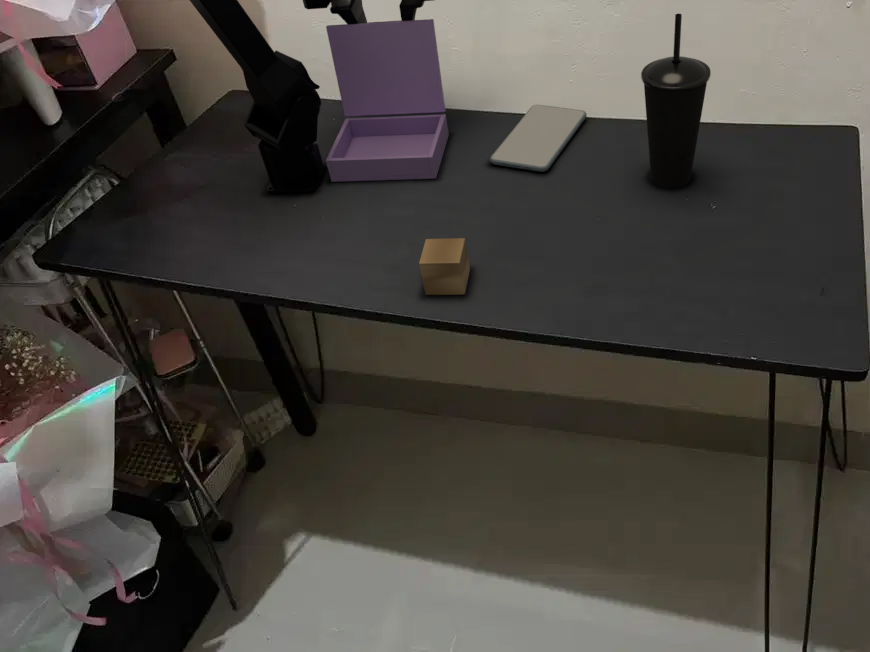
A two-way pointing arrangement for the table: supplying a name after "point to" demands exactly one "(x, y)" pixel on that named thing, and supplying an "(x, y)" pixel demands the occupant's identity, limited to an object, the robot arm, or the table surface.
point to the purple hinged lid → (387, 67)
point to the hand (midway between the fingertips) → (390, 49)
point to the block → (445, 266)
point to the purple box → (388, 148)
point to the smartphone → (538, 138)
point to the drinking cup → (674, 113)
